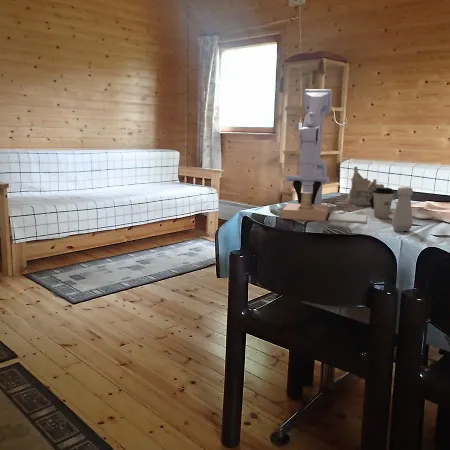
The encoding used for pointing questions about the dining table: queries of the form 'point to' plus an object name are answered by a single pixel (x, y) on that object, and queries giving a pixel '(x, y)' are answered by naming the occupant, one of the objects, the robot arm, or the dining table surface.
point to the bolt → (372, 201)
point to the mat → (347, 218)
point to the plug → (306, 200)
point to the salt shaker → (403, 210)
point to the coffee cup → (382, 201)
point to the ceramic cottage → (361, 189)
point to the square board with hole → (305, 212)
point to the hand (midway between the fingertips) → (306, 203)
